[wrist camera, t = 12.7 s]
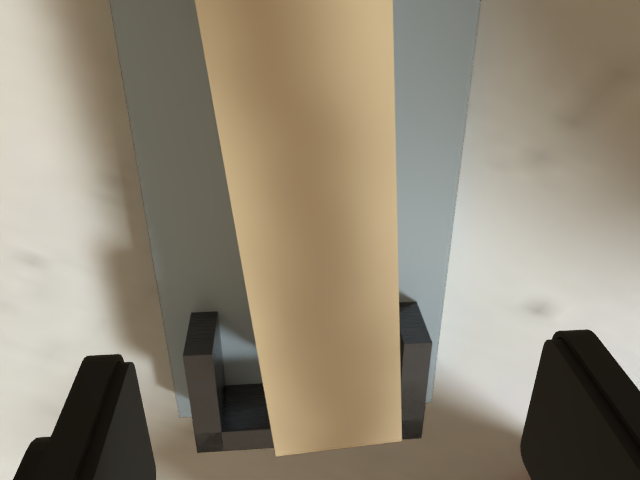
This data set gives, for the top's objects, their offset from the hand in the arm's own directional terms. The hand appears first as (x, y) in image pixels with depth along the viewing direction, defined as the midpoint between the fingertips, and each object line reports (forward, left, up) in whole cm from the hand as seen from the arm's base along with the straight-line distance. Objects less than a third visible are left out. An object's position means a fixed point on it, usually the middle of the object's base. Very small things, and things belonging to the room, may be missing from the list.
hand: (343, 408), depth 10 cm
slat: (0, 0, -14) cm, 14 cm away
